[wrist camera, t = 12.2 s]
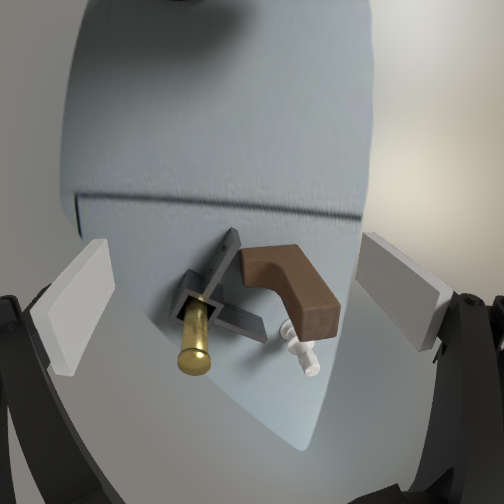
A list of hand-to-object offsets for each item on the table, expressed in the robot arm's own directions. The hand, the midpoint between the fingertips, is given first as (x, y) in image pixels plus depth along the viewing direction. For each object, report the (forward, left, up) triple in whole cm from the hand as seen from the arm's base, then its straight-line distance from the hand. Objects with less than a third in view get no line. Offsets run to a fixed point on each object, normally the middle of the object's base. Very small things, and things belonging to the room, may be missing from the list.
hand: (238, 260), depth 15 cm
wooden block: (+13, +7, -29) cm, 32 cm away
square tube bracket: (+16, +2, -29) cm, 33 cm away
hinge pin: (+18, -4, -29) cm, 34 cm away
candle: (+27, +13, -29) cm, 41 cm away
